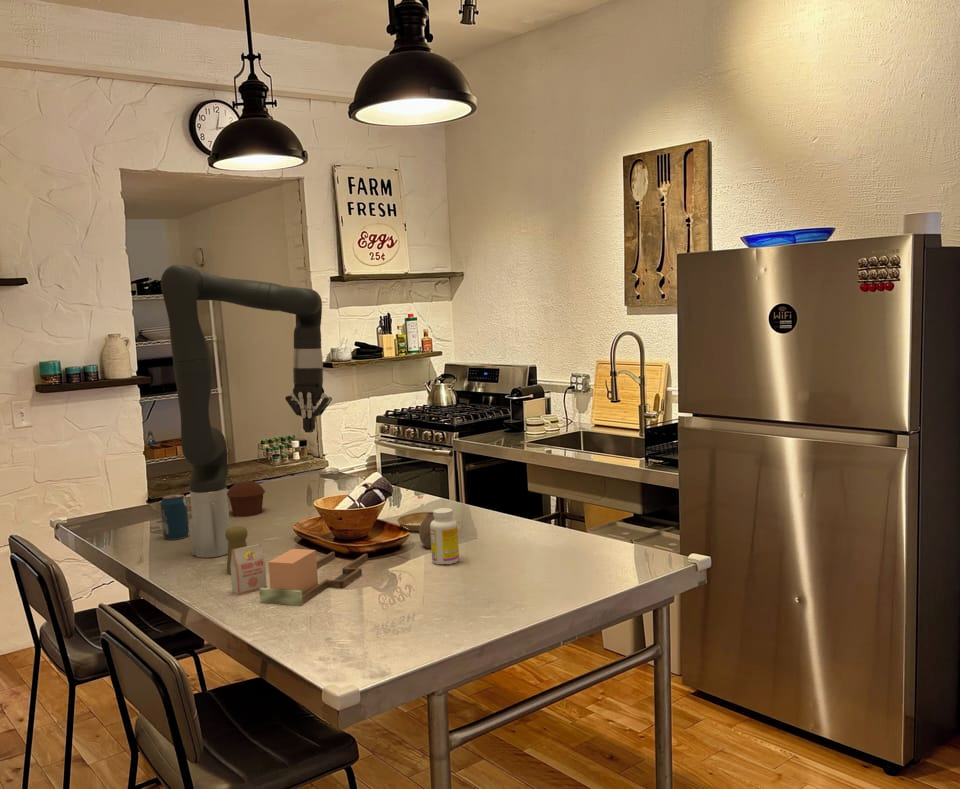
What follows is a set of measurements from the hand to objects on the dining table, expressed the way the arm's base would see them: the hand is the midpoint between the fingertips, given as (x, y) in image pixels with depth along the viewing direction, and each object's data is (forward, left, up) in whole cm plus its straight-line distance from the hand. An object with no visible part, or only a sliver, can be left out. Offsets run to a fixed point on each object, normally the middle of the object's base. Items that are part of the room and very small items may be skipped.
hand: (309, 432), depth 226 cm
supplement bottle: (+39, -6, -31) cm, 50 cm away
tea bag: (+1, -34, -31) cm, 46 cm away
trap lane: (+14, -24, -31) cm, 41 cm away
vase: (+31, +6, -31) cm, 44 cm away
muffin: (-41, +30, -31) cm, 60 cm away
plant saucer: (+21, +24, -31) cm, 45 cm away
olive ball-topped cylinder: (-9, -22, -31) cm, 39 cm away
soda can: (-46, +2, -31) cm, 56 cm away
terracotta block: (+14, -35, -31) cm, 49 cm away
